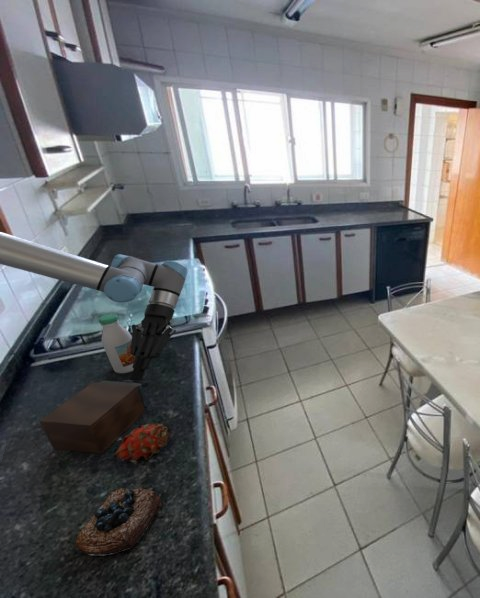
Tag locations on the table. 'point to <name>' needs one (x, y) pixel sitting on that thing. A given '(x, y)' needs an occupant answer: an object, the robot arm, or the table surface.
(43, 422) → the cabinet
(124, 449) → the dragon fruit
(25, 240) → the robot arm
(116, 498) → the pastry
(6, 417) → the table surface
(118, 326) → the milk bottle
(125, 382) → the drawer
